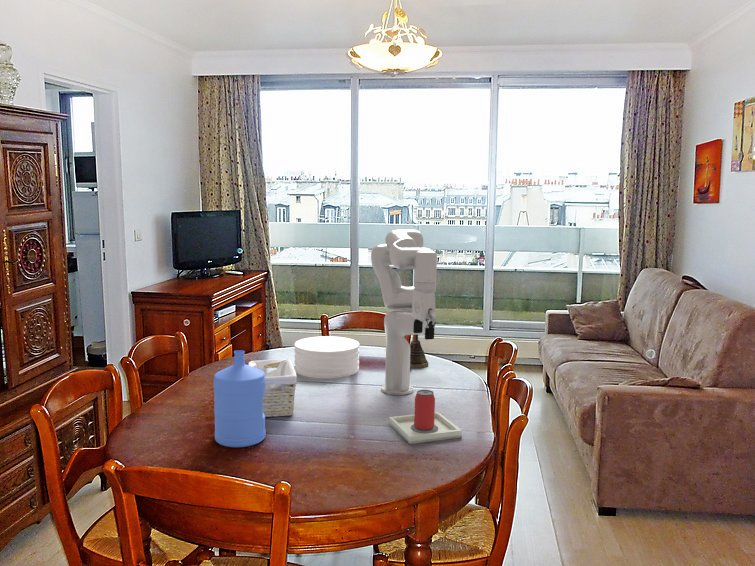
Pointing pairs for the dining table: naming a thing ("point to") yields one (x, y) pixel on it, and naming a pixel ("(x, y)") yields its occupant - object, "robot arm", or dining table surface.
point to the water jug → (239, 404)
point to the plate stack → (326, 357)
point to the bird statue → (417, 354)
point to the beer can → (424, 410)
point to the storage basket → (278, 386)
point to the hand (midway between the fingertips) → (423, 335)
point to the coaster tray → (413, 435)
